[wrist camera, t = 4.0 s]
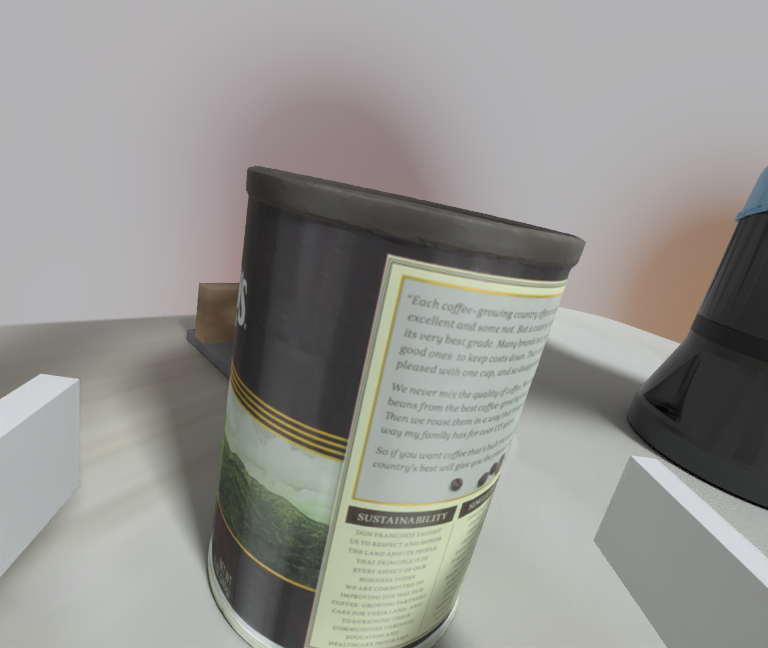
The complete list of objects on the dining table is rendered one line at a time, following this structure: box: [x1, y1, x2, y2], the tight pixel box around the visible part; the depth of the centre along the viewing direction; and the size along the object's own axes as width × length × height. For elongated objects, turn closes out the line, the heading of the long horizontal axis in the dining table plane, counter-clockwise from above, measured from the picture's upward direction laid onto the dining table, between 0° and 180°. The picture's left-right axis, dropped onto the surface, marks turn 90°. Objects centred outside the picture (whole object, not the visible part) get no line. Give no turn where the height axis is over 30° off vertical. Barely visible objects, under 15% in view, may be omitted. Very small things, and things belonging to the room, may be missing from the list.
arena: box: [187, 283, 240, 379], centre depth 34 cm, size 18×18×5 cm
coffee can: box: [208, 166, 585, 648], centre depth 16 cm, size 10×10×14 cm
